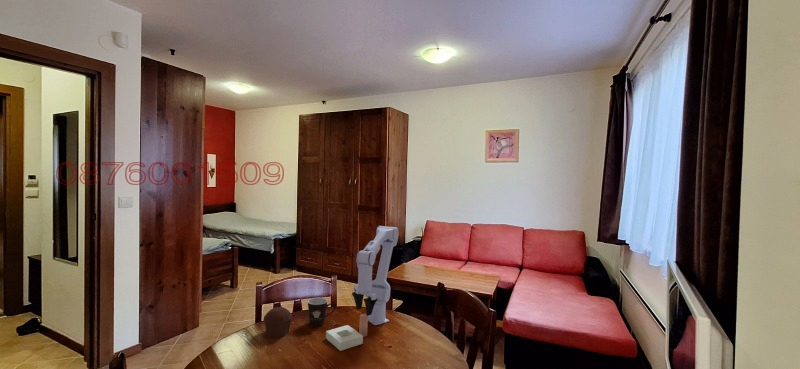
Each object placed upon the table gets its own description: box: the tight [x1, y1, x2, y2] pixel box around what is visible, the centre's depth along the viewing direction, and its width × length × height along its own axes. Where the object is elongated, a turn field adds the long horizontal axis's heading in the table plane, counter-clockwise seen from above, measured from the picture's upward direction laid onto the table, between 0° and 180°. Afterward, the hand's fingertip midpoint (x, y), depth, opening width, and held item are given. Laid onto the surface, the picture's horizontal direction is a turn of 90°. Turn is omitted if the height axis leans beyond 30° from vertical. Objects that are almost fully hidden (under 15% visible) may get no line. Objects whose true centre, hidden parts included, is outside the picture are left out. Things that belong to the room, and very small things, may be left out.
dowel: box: [358, 313, 369, 338], centre depth 136 cm, size 3×3×8 cm
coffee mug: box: [307, 297, 336, 327], centre depth 145 cm, size 12×9×10 cm
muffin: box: [263, 306, 293, 338], centre depth 135 cm, size 12×11×10 cm
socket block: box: [325, 324, 364, 352], centre depth 130 cm, size 12×10×3 cm
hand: (363, 311), depth 136 cm, fingers open, 7 cm apart
